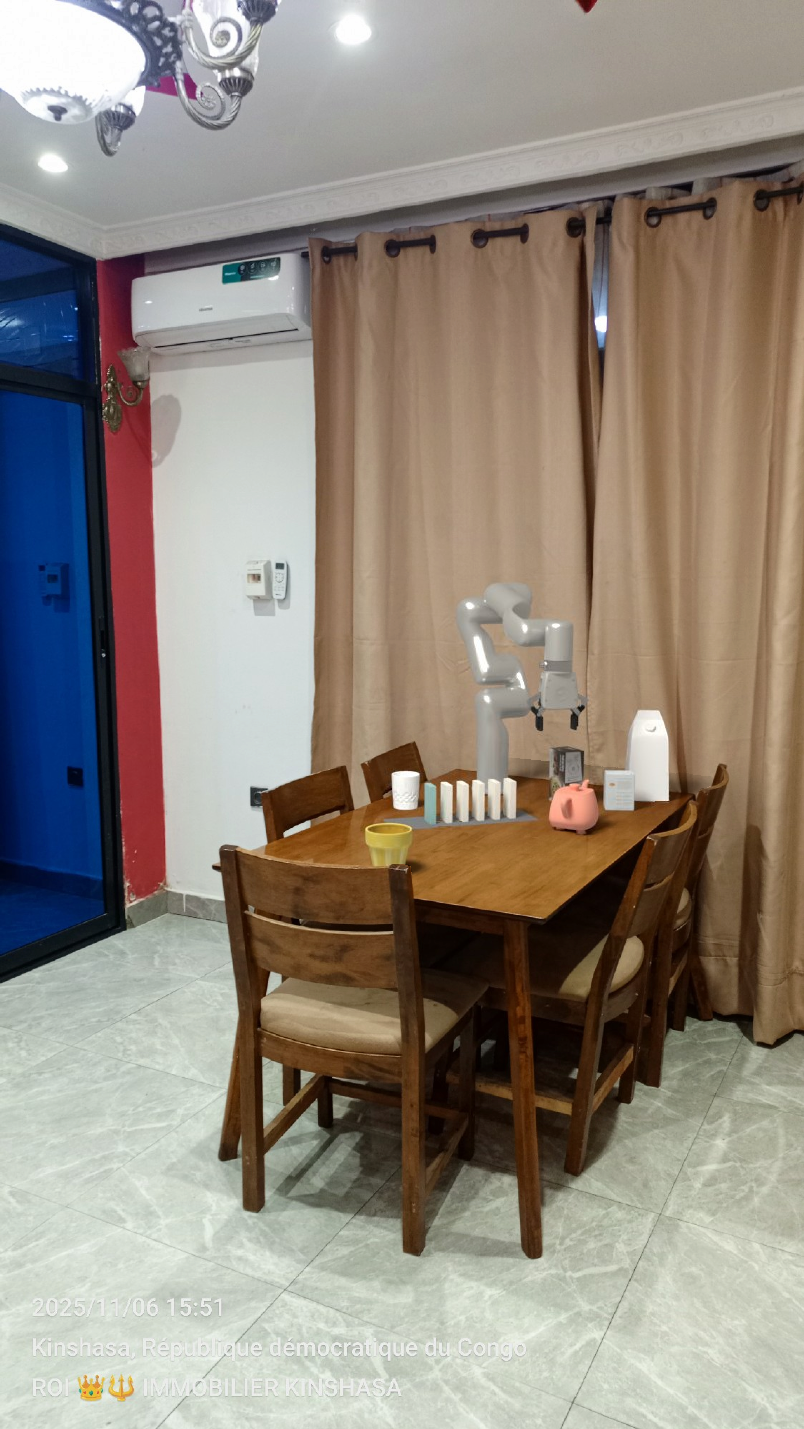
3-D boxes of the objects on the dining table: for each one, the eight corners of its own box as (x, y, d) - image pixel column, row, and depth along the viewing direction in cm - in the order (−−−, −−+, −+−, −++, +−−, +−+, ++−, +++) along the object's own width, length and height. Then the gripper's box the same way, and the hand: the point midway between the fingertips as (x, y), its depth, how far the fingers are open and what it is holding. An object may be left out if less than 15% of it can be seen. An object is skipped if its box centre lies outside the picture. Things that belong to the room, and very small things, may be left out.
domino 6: (503, 814, 262) (503, 778, 261) (508, 813, 263) (509, 778, 261) (510, 818, 258) (510, 782, 256) (515, 818, 258) (516, 781, 257)
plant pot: (388, 861, 220) (388, 819, 219) (421, 870, 213) (422, 828, 212) (355, 871, 213) (355, 828, 212) (389, 881, 206) (389, 837, 204)
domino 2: (440, 818, 257) (440, 782, 256) (446, 818, 258) (446, 781, 256) (446, 823, 253) (446, 786, 251) (452, 822, 253) (452, 785, 252)
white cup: (385, 808, 271) (385, 773, 270) (406, 804, 276) (406, 769, 275) (404, 813, 265) (404, 777, 264) (425, 809, 271) (425, 774, 269)
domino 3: (456, 817, 259) (456, 781, 257) (462, 817, 259) (462, 780, 258) (462, 822, 254) (463, 785, 253) (468, 821, 254) (468, 784, 253)
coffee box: (583, 806, 274) (585, 750, 272) (564, 808, 271) (565, 752, 269) (566, 799, 282) (568, 745, 280) (547, 801, 280) (549, 746, 278)
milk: (663, 793, 291) (667, 708, 287) (668, 801, 280) (672, 713, 276) (623, 792, 293) (626, 707, 289) (626, 800, 281) (629, 712, 278)
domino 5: (487, 815, 261) (488, 779, 260) (493, 814, 262) (493, 778, 260) (494, 819, 256) (495, 783, 255) (500, 819, 257) (500, 782, 255)
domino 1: (424, 819, 256) (424, 783, 255) (430, 819, 257) (430, 782, 255) (430, 824, 251) (430, 786, 250) (436, 823, 252) (436, 786, 250)
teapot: (585, 841, 238) (586, 793, 236) (539, 835, 243) (540, 788, 242) (607, 823, 255) (609, 778, 254) (564, 817, 261) (565, 774, 259)
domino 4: (472, 816, 260) (472, 780, 259) (477, 816, 260) (478, 779, 259) (478, 820, 255) (479, 784, 254) (484, 820, 256) (484, 783, 254)
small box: (631, 806, 274) (632, 770, 272) (634, 811, 268) (635, 774, 267) (602, 805, 275) (604, 769, 273) (605, 810, 269) (606, 773, 268)
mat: (382, 821, 257) (382, 819, 257) (521, 811, 268) (521, 809, 268) (394, 832, 245) (394, 830, 245) (538, 821, 256) (538, 820, 256)
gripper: (532, 668, 252) (531, 733, 255) (594, 667, 256) (592, 731, 258) (523, 666, 260) (521, 728, 262) (583, 665, 263) (581, 727, 266)
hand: (556, 729), depth 260 cm, fingers open, 9 cm apart
